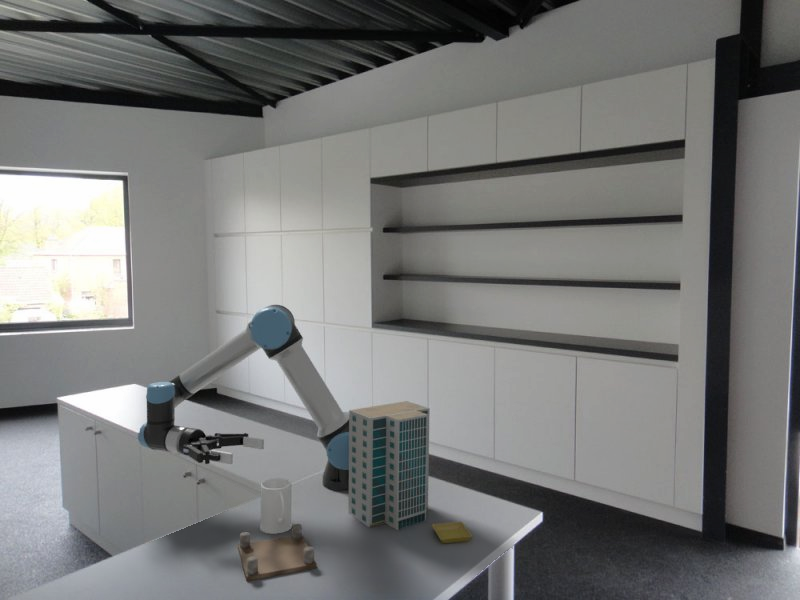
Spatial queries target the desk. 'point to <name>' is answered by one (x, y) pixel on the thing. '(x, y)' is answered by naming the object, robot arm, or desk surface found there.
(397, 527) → the building model
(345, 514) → the desk surface
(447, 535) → the yellow square slab
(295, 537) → the board with corner pegs
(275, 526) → the mug
